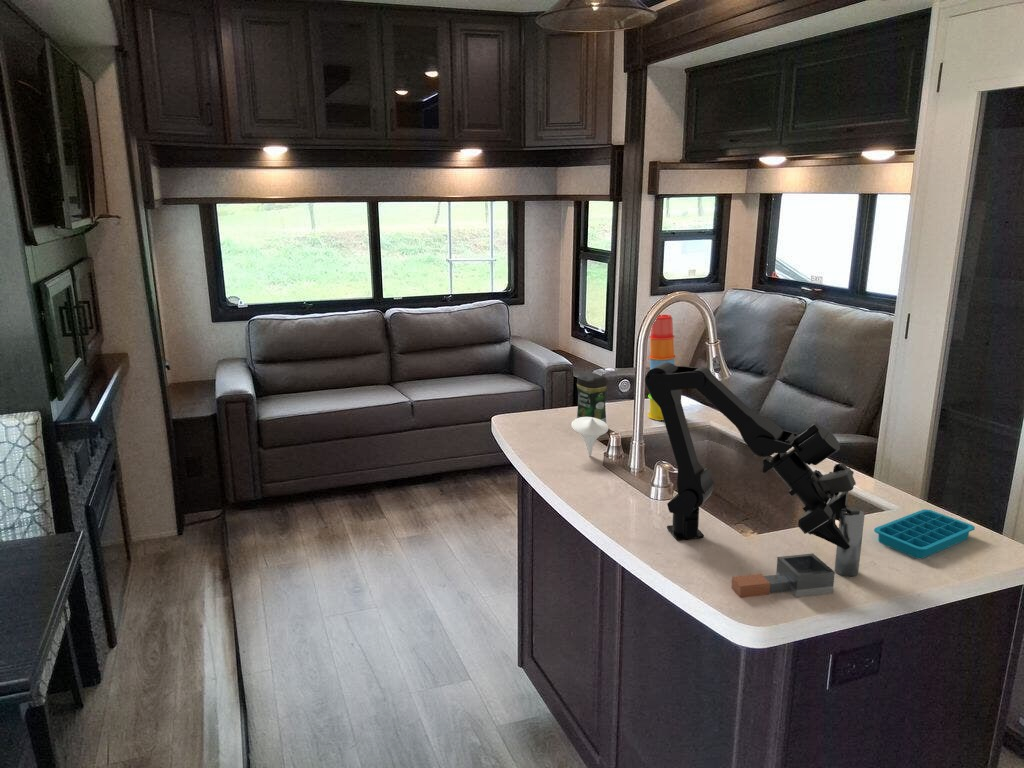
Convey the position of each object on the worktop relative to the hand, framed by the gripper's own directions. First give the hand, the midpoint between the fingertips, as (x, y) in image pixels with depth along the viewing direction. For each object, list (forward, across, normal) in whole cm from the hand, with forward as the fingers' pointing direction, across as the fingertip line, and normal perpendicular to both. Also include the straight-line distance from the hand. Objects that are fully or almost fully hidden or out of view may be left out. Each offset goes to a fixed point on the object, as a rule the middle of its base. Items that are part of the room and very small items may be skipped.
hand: (852, 539), depth 149 cm
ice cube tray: (+13, +24, -2) cm, 27 cm away
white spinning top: (-49, +33, +59) cm, 84 cm away
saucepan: (-2, -13, +13) cm, 18 cm away
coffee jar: (-57, +55, +67) cm, 104 cm away
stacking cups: (-46, +79, +57) cm, 108 cm away
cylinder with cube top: (+5, 0, +6) cm, 7 cm away
